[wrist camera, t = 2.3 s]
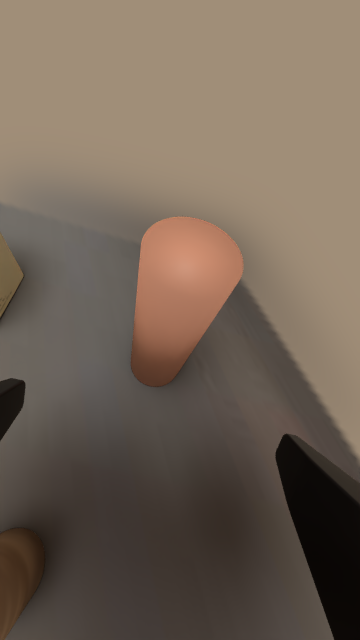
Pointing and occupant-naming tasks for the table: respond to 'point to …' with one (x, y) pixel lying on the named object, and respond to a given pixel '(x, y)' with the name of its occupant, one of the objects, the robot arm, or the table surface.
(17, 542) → the walnut dowel
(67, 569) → the table surface
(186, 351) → the orange peg
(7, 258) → the skincare box
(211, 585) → the table surface
